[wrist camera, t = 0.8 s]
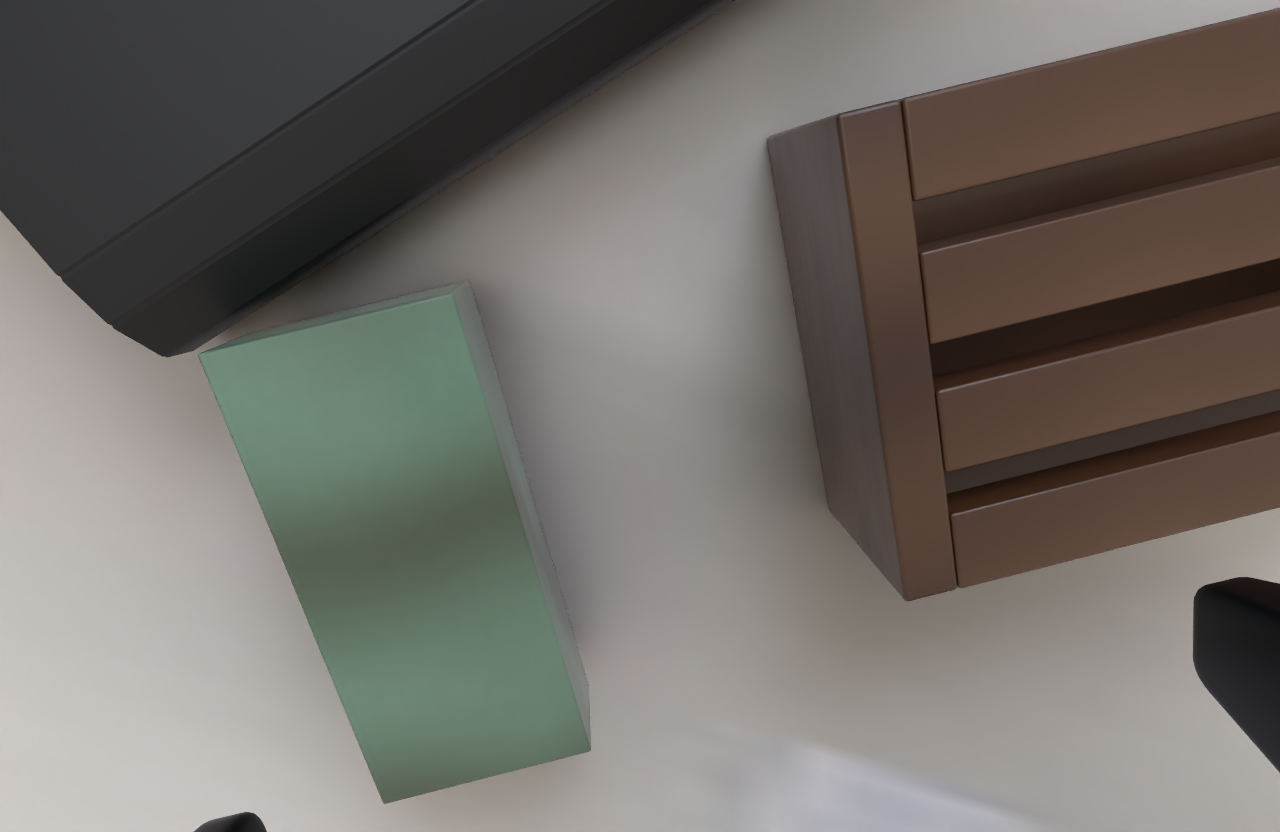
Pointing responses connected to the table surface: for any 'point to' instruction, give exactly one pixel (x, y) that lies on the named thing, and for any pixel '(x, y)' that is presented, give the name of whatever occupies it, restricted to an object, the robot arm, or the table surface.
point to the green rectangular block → (410, 536)
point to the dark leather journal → (271, 131)
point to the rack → (1044, 305)
